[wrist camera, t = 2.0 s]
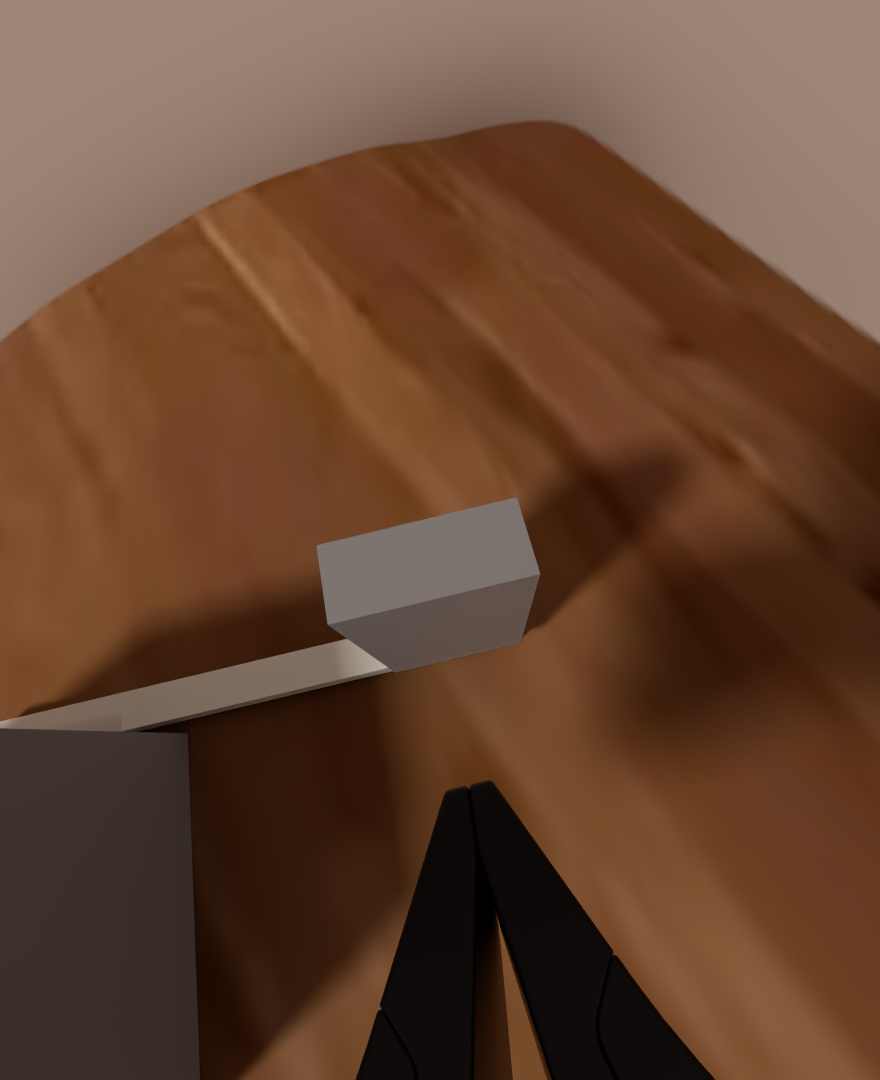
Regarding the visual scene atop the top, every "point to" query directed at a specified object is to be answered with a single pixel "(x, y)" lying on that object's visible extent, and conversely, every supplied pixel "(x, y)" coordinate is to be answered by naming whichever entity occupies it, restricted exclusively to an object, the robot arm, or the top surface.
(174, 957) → the tunnel
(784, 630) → the top surface
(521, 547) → the grey white bent piece
